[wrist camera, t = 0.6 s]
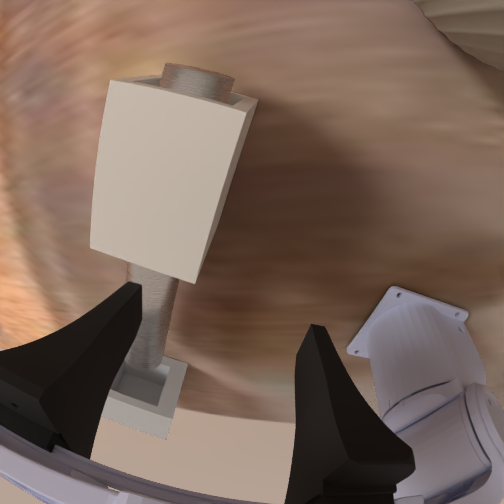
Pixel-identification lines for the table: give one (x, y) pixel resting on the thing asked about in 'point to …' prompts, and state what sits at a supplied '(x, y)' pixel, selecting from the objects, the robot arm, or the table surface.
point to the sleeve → (164, 173)
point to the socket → (146, 397)
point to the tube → (155, 283)
